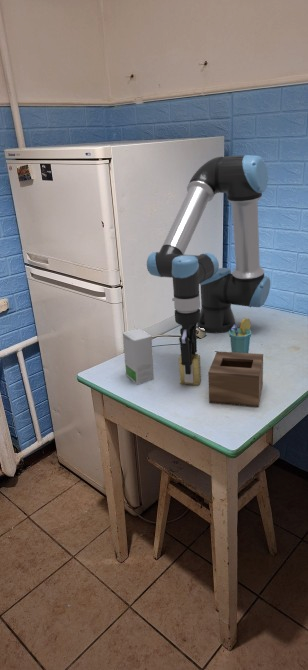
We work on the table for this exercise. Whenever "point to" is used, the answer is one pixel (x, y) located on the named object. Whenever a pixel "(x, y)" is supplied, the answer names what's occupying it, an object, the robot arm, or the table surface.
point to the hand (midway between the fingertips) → (190, 379)
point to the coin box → (236, 379)
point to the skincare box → (138, 355)
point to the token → (195, 370)
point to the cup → (240, 337)
